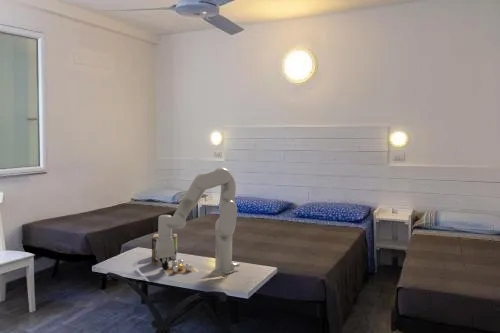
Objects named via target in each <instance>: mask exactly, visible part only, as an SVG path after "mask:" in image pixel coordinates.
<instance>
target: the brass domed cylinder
mask: <svg viewBox="0 0 500 333" xmlns="http://www.w3.org/2000/svg"><path fill="white" fill-rule="evenodd" d="M175 265H178V271H182V270H183V264H178V263H177V264H175Z"/></svg>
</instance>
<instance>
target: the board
mask: <svg viewBox="0 0 500 333" xmlns="http://www.w3.org/2000/svg"><path fill="white" fill-rule="evenodd" d="M164 271H165V272H166V273H167V274H169V276H174V275H182V274H183V275H184V274H189V273H196V272H197V273H198V272H200V270H198V268H196V267H194V266H193V265H192V264H191V272H186V264H184V267H183V270H182V271H178V273H177V274H173V273H172V266H169V269H167V270H164Z"/></svg>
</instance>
